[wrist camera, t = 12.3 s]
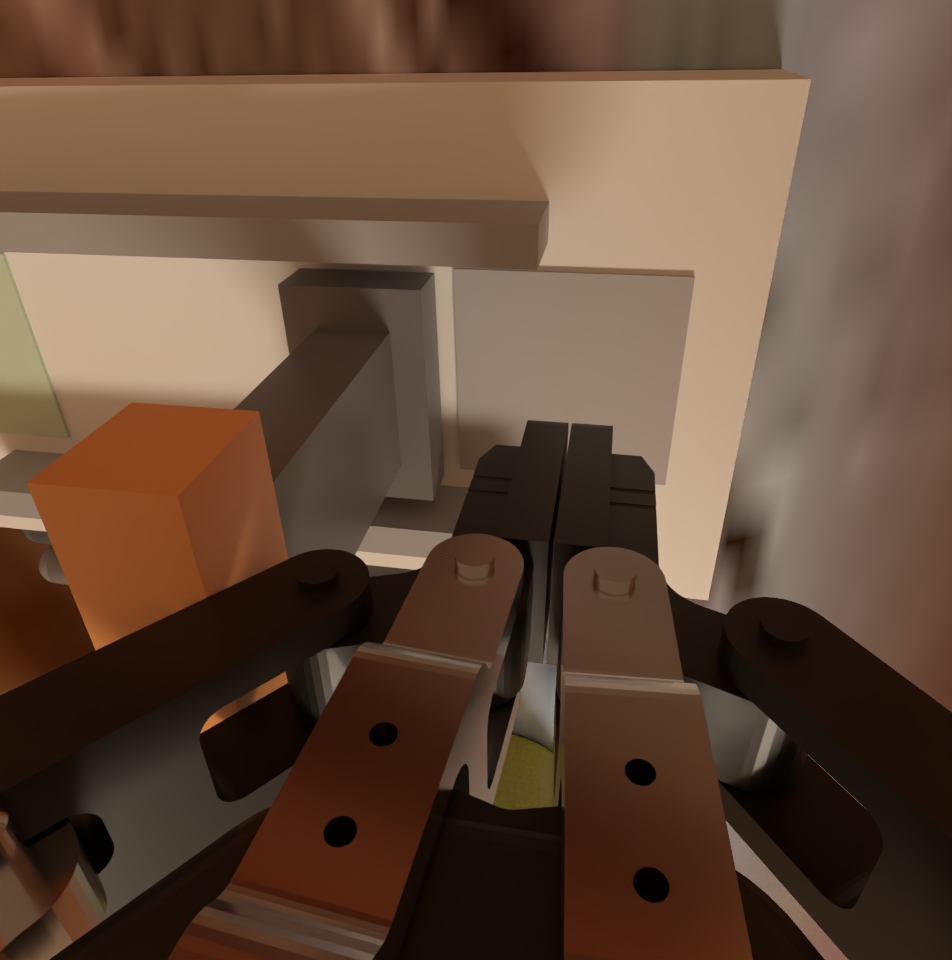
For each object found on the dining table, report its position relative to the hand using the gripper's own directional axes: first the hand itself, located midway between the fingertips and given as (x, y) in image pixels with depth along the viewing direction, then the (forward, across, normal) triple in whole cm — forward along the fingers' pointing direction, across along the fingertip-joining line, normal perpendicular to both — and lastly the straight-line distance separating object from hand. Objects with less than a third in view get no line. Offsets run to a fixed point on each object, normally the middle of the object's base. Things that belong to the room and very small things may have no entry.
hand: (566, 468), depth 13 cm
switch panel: (+7, +8, 0) cm, 11 cm away
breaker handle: (+4, +5, 0) cm, 6 cm away
